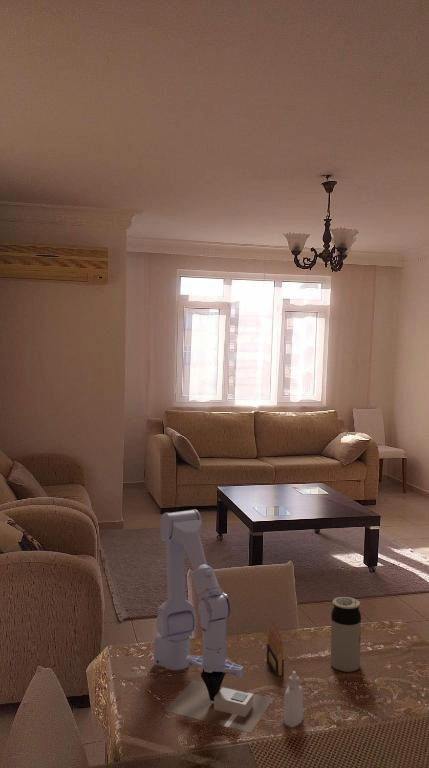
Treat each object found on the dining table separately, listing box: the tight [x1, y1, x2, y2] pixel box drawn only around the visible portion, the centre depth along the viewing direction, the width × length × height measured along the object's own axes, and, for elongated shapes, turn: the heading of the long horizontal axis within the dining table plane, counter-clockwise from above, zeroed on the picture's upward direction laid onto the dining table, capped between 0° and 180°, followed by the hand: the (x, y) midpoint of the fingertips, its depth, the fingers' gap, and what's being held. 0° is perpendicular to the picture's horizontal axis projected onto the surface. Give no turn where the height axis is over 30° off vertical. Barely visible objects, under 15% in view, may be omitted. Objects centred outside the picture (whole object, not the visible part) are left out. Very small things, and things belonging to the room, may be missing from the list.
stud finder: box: [214, 686, 254, 717], centre depth 159 cm, size 8×5×3 cm, turn 66°
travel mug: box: [330, 596, 362, 673], centre depth 182 cm, size 8×8×18 cm
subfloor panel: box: [164, 679, 274, 734], centre depth 161 cm, size 22×16×1 cm
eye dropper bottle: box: [283, 670, 304, 728], centre depth 155 cm, size 4×6×12 cm
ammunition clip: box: [266, 619, 285, 676], centre depth 180 cm, size 11×2×12 cm, turn 10°
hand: (213, 698), depth 161 cm, fingers closed
